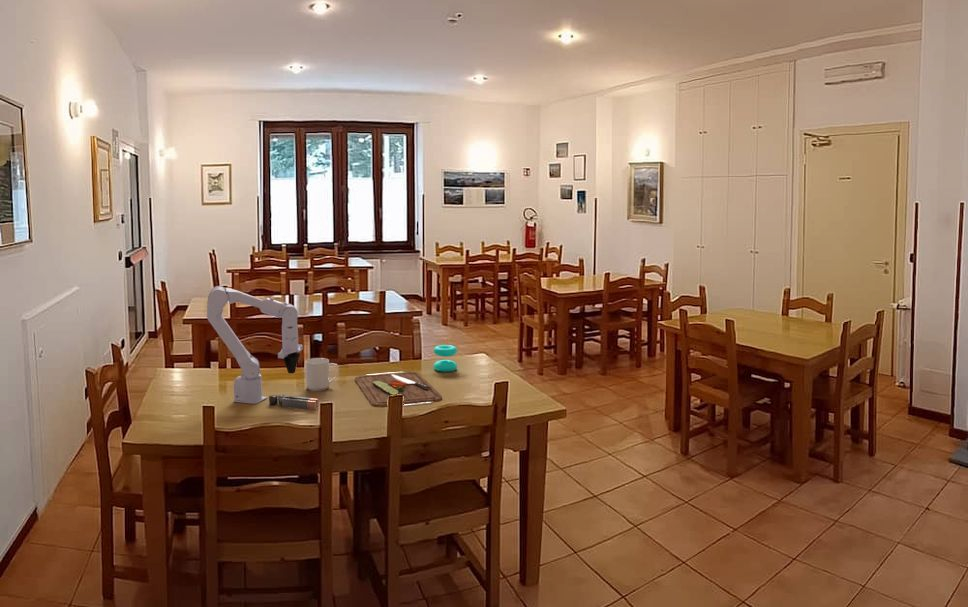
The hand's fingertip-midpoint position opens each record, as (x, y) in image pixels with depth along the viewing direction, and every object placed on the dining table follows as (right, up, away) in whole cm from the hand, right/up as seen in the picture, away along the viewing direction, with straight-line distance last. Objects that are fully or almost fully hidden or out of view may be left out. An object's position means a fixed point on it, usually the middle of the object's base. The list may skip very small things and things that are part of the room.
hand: (291, 372), depth 280 cm
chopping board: (+38, -8, +14) cm, 41 cm away
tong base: (+3, -11, -9) cm, 15 cm away
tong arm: (+5, -11, -9) cm, 15 cm away
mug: (+9, -7, +14) cm, 18 cm away
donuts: (+55, -3, +43) cm, 70 cm away
